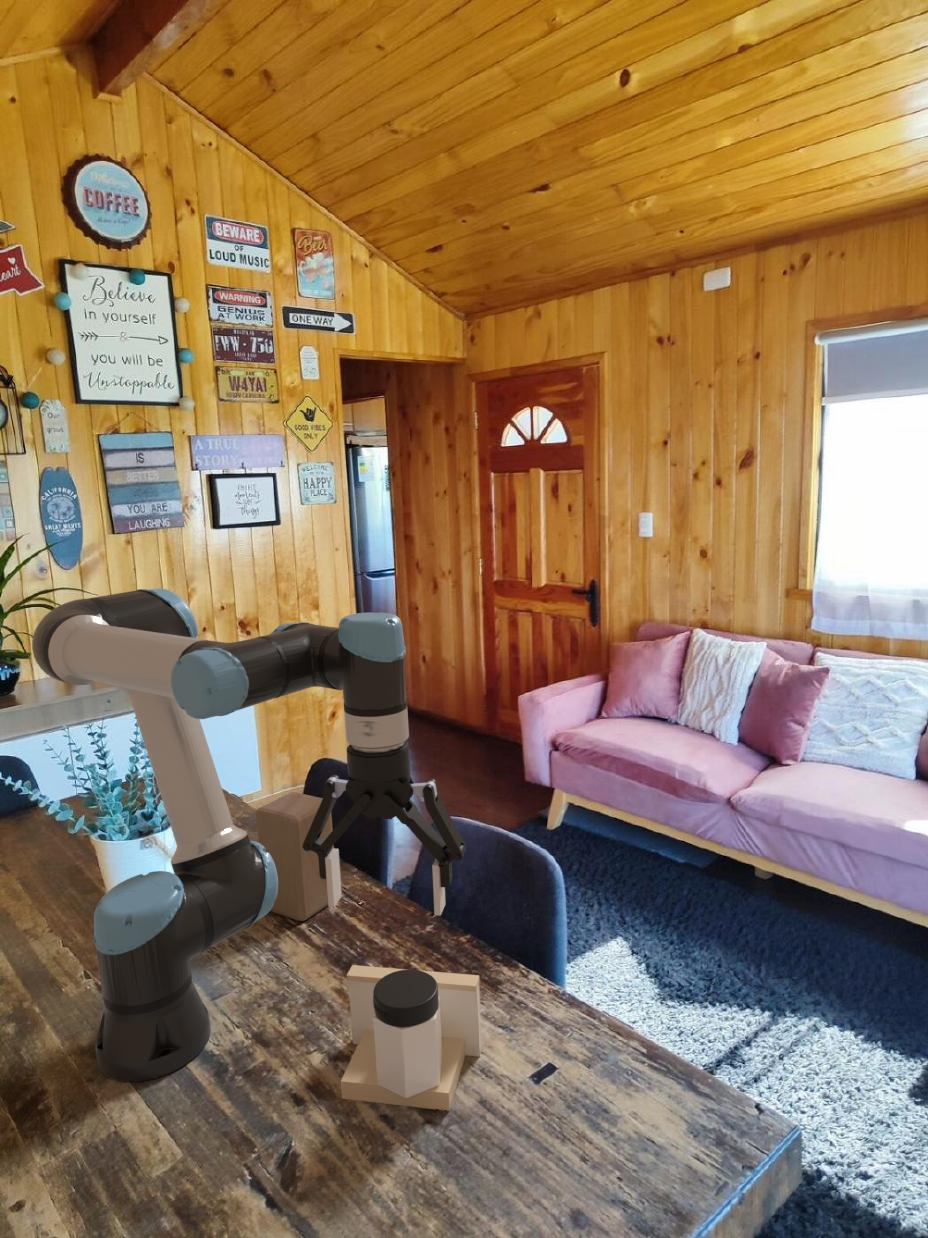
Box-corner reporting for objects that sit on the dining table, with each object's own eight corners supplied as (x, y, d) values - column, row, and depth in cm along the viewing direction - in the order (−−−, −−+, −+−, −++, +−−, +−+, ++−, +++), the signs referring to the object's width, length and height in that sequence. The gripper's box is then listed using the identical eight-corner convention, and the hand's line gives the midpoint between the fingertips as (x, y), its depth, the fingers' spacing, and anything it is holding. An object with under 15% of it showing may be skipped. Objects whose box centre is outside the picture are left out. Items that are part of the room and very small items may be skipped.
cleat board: (327, 1097, 105) (321, 1020, 103) (357, 1034, 116) (352, 965, 114) (465, 1113, 101) (461, 1034, 99) (482, 1047, 113) (479, 975, 111)
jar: (384, 1049, 109) (378, 966, 107) (445, 1049, 109) (440, 966, 107) (372, 1099, 101) (366, 1011, 99) (438, 1100, 100) (434, 1011, 98)
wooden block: (339, 899, 154) (332, 798, 151) (302, 925, 146) (293, 818, 142) (300, 887, 159) (292, 789, 156) (262, 911, 151) (253, 808, 148)
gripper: (267, 749, 97) (280, 914, 101) (474, 756, 92) (479, 930, 96) (292, 729, 105) (304, 884, 108) (485, 735, 99) (490, 897, 103)
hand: (386, 906), depth 102 cm, fingers open, 13 cm apart
